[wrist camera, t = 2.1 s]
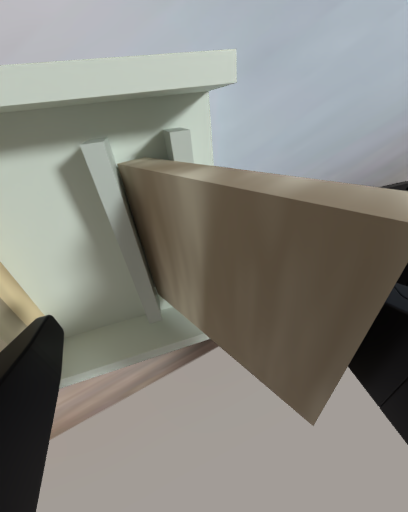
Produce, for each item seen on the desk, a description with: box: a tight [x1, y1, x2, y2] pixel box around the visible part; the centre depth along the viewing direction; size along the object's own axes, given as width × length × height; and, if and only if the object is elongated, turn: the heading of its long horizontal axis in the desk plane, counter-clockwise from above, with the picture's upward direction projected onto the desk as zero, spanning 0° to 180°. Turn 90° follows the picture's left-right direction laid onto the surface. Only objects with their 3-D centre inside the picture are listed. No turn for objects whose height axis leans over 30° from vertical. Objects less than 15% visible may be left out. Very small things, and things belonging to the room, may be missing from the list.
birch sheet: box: [117, 157, 408, 425], centre depth 9 cm, size 1×8×10 cm, turn 6°
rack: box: [0, 49, 237, 389], centre depth 10 cm, size 18×14×4 cm
